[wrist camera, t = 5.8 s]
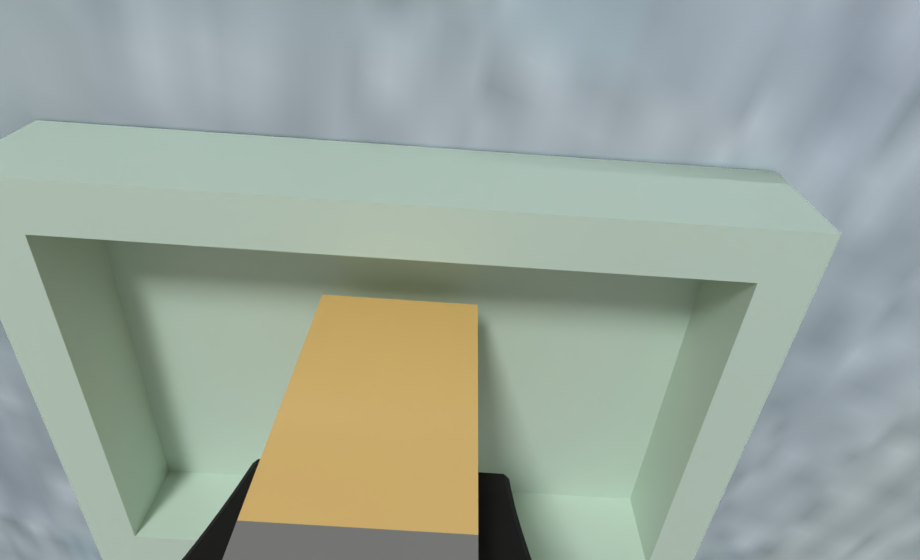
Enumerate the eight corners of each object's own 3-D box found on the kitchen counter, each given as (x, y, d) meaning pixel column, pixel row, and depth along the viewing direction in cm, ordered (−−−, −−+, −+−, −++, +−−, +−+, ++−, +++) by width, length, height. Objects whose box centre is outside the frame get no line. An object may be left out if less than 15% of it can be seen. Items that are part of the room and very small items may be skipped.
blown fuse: (477, 304, 12) (478, 615, 7) (463, 447, 14) (457, 763, 9) (322, 294, 12) (207, 598, 7) (332, 439, 14) (250, 752, 9)
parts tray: (776, 171, 12) (842, 233, 10) (653, 506, 17) (678, 593, 15) (36, 120, 12) (-63, 172, 9) (148, 475, 17) (102, 559, 15)
